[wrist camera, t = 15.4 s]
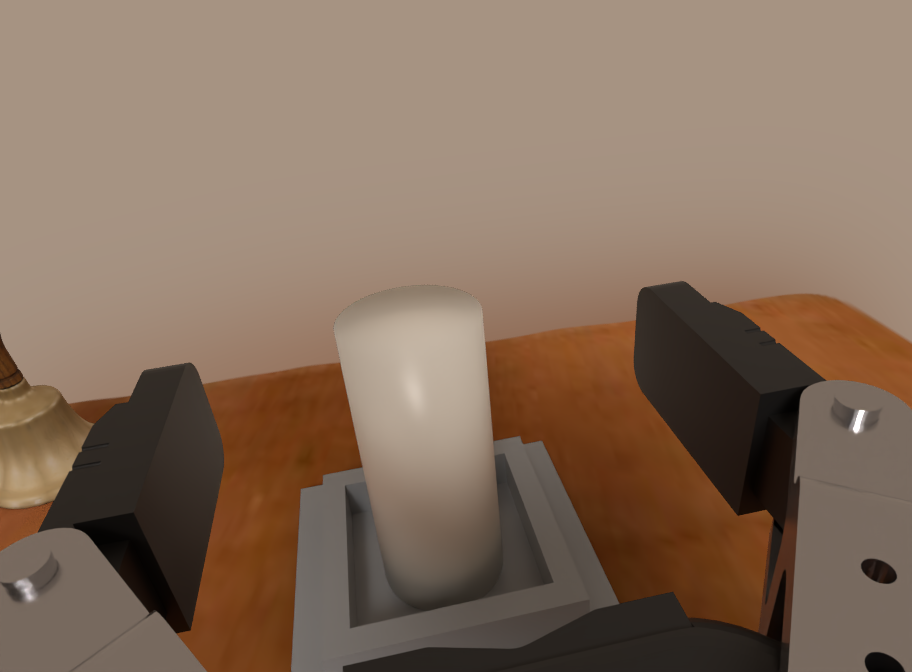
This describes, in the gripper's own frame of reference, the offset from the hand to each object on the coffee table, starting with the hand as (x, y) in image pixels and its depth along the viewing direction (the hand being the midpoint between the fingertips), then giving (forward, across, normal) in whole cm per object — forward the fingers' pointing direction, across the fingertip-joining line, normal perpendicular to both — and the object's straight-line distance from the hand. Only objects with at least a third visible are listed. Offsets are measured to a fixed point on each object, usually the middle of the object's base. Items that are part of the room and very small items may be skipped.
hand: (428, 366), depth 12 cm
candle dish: (+13, 0, +21) cm, 24 cm away
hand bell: (+29, +25, +21) cm, 43 cm away
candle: (+12, 0, +20) cm, 23 cm away
